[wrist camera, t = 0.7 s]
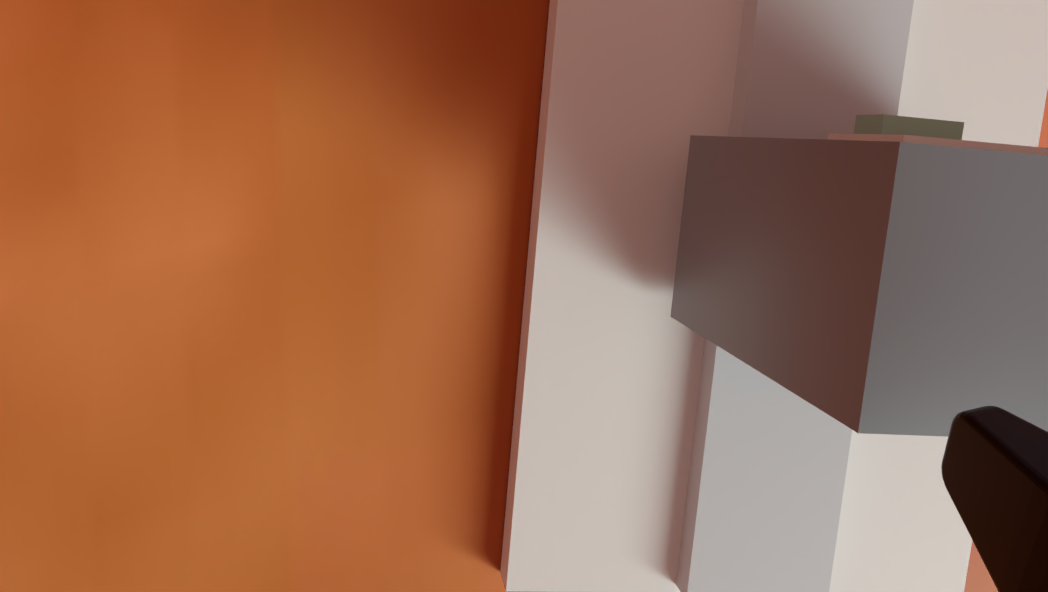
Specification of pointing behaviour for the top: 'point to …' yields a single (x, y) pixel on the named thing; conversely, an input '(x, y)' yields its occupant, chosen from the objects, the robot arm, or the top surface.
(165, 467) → the top surface
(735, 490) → the rail plate
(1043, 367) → the plate
